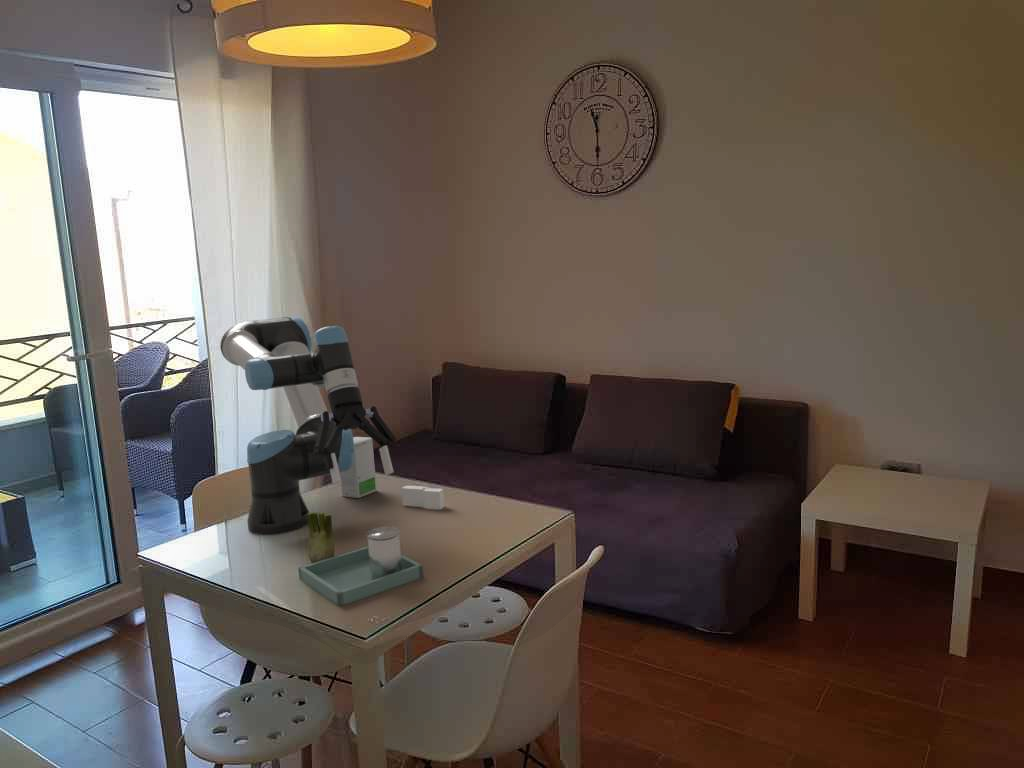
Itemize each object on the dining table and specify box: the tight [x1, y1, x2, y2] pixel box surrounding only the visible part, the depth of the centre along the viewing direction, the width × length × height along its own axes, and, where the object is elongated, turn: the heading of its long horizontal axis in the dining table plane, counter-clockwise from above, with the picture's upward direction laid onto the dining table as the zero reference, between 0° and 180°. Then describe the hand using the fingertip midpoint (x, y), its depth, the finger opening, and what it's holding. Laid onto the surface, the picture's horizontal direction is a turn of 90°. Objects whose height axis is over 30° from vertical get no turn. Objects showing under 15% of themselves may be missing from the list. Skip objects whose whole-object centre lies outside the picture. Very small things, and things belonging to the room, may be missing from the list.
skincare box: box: [339, 436, 378, 499], centre depth 229 cm, size 8×7×16 cm
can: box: [366, 526, 402, 581], centre depth 167 cm, size 7×7×10 cm
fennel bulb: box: [307, 512, 336, 564], centre depth 179 cm, size 6×5×12 cm
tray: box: [298, 545, 424, 607], centre depth 169 cm, size 18×19×4 cm
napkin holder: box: [401, 485, 445, 511], centre depth 215 cm, size 15×11×6 cm
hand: (364, 478), depth 187 cm, fingers open, 13 cm apart
